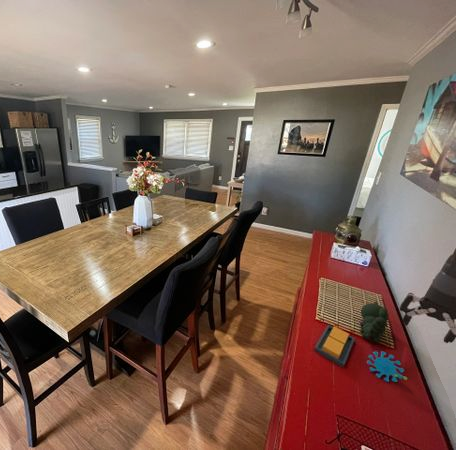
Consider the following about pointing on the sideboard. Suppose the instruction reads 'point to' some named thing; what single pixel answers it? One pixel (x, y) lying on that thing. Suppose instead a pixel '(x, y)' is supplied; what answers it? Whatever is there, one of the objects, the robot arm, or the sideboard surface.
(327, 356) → the backing tray
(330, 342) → the pad
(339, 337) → the pad
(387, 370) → the blue virus toy
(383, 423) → the sideboard surface
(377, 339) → the green broccoli
